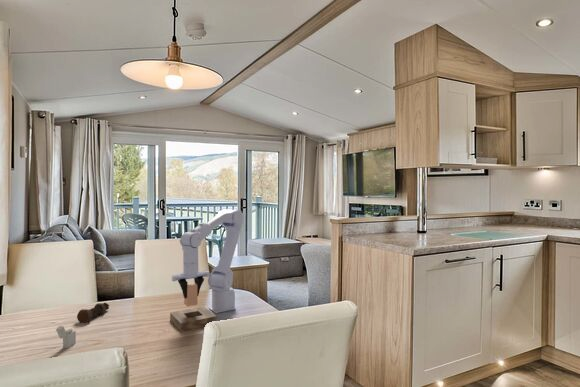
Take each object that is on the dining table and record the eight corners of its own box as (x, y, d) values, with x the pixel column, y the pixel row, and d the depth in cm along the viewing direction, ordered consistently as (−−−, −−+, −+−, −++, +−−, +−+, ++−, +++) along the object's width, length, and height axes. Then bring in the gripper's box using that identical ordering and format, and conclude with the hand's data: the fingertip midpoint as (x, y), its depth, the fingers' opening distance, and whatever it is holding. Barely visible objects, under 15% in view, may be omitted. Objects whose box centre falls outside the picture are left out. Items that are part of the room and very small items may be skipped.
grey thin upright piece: (71, 342, 127) (71, 319, 127) (76, 342, 127) (75, 319, 127) (56, 351, 120) (55, 327, 120) (60, 352, 120) (60, 327, 120)
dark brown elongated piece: (107, 314, 160) (84, 326, 145) (98, 308, 161) (74, 319, 146) (114, 303, 160) (91, 314, 145) (104, 297, 160) (81, 307, 146)
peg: (194, 302, 150) (194, 282, 150) (197, 304, 146) (197, 284, 146) (184, 303, 147) (184, 283, 147) (187, 306, 144) (187, 285, 144)
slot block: (203, 313, 156) (203, 306, 156) (216, 323, 145) (216, 316, 144) (170, 320, 148) (170, 312, 148) (181, 331, 137) (181, 323, 137)
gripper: (204, 258, 154) (205, 291, 154) (169, 262, 146) (169, 297, 146) (211, 261, 148) (211, 295, 148) (174, 266, 140) (174, 301, 140)
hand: (191, 296), depth 147 cm, fingers closed on peg, 4 cm apart
